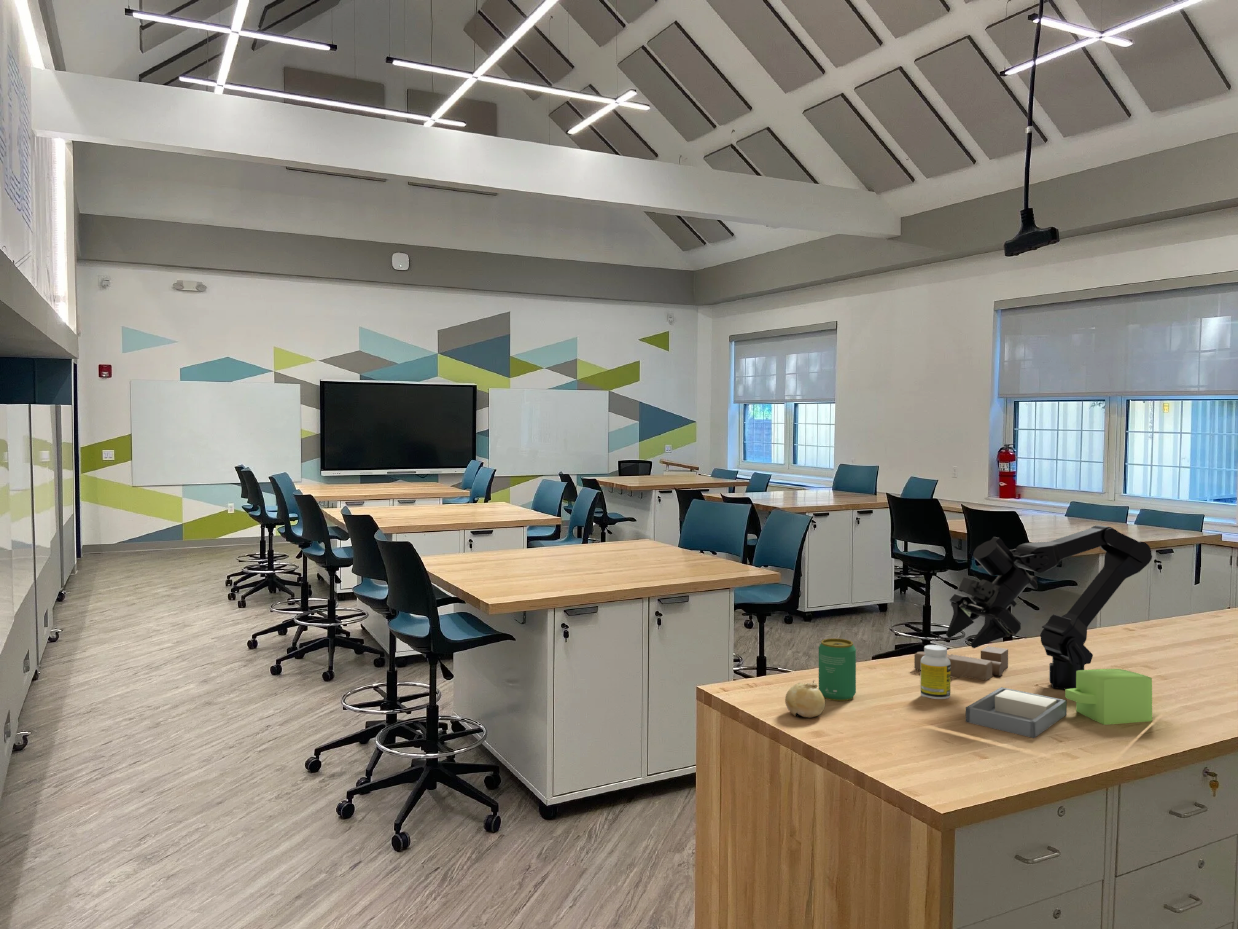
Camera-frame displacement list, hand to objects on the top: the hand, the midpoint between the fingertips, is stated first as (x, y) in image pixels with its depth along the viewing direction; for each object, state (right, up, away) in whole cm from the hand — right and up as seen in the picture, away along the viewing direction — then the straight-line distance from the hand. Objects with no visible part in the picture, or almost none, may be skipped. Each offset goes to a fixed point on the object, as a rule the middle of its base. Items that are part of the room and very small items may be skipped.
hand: (959, 641), depth 188 cm
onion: (-36, -13, -11) cm, 40 cm away
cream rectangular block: (+8, -12, -13) cm, 19 cm away
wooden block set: (+9, -12, +21) cm, 26 cm away
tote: (+5, -13, -16) cm, 21 cm away
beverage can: (-27, -12, +1) cm, 29 cm away
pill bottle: (-6, -12, -1) cm, 13 cm away
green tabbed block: (+26, -13, -14) cm, 32 cm away
